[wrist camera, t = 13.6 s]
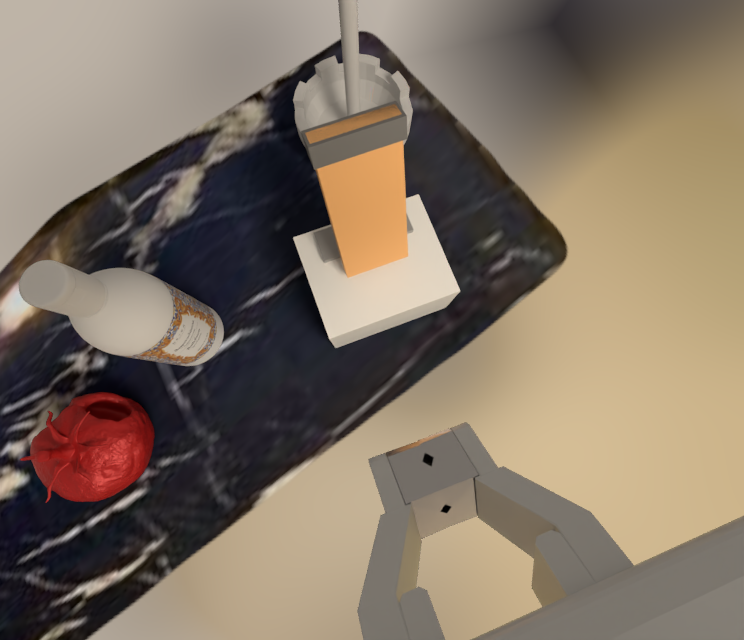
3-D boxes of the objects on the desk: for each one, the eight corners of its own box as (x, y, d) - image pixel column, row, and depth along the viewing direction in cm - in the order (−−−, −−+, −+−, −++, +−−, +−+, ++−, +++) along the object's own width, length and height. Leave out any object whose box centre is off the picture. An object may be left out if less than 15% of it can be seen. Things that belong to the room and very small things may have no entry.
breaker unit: (445, 307, 43) (461, 289, 36) (335, 348, 42) (328, 338, 35) (410, 225, 45) (419, 191, 38) (304, 262, 44) (291, 234, 37)
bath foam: (204, 377, 41) (57, 362, 22) (149, 349, 42) (-44, 308, 22) (237, 320, 43) (125, 257, 23) (183, 293, 43) (28, 208, 24)
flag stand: (296, 95, 48) (183, -375, 19) (400, 85, 49) (448, -391, 19) (306, 191, 46) (194, -178, 16) (415, 179, 46) (497, -201, 17)
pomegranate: (171, 482, 40) (113, 511, 31) (70, 498, 39) (-19, 532, 30) (165, 385, 41) (108, 385, 32) (68, 399, 41) (-17, 403, 32)
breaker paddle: (411, 258, 36) (406, 115, 24) (346, 281, 35) (308, 147, 23) (404, 244, 37) (396, 100, 25) (340, 266, 36) (300, 131, 24)
